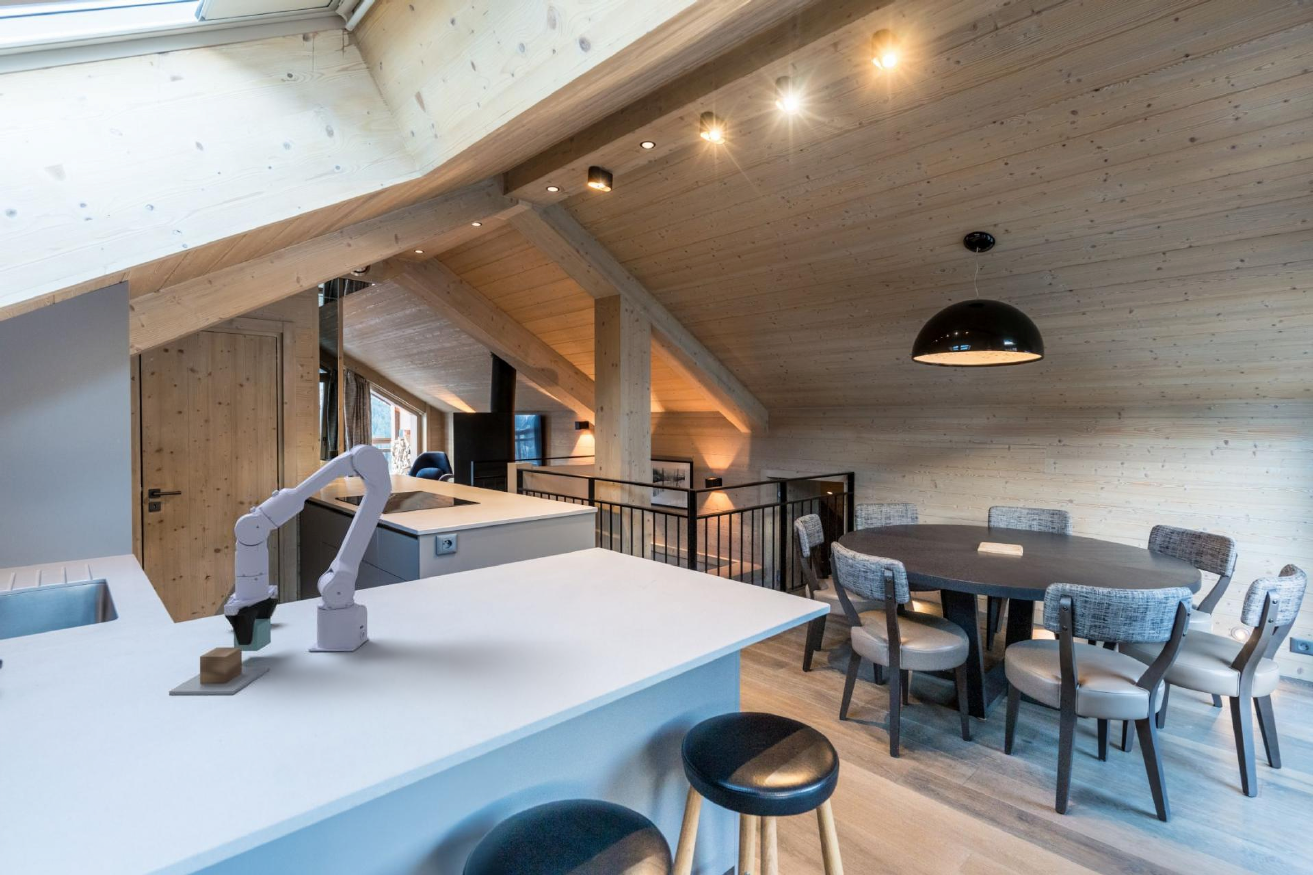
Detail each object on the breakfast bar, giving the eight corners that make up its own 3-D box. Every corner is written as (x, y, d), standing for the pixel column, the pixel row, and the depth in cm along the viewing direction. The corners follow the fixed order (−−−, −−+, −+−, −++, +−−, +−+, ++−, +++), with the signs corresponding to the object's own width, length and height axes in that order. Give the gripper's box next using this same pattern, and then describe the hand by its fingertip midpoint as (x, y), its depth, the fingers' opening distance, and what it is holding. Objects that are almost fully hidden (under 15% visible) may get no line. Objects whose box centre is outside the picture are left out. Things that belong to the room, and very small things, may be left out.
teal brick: (270, 642, 129) (270, 618, 129) (257, 650, 124) (257, 626, 124) (248, 642, 129) (247, 618, 129) (233, 650, 124) (233, 626, 124)
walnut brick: (241, 673, 118) (241, 647, 118) (225, 683, 114) (225, 656, 113) (216, 673, 118) (216, 647, 118) (200, 683, 113) (200, 656, 113)
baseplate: (269, 669, 121) (269, 666, 121) (232, 694, 110) (232, 691, 110) (211, 669, 121) (211, 666, 121) (169, 694, 110) (169, 691, 110)
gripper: (253, 565, 133) (254, 627, 134) (207, 582, 119) (208, 652, 119) (287, 565, 134) (287, 627, 134) (245, 582, 119) (245, 652, 120)
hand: (252, 639), depth 127 cm, fingers closed on teal brick, 5 cm apart
